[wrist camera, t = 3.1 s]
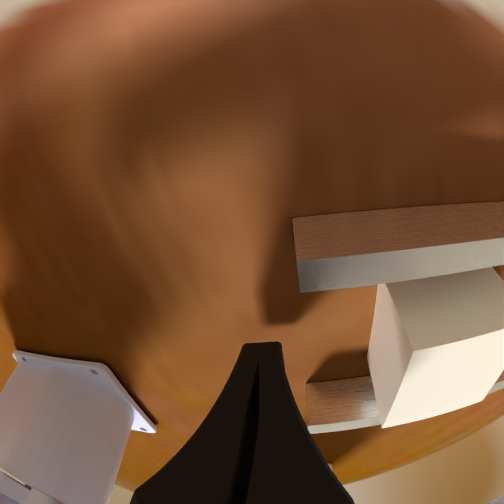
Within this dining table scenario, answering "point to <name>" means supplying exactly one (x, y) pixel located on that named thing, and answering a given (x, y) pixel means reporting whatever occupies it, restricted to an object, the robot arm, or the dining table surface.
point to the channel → (387, 276)
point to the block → (436, 344)
